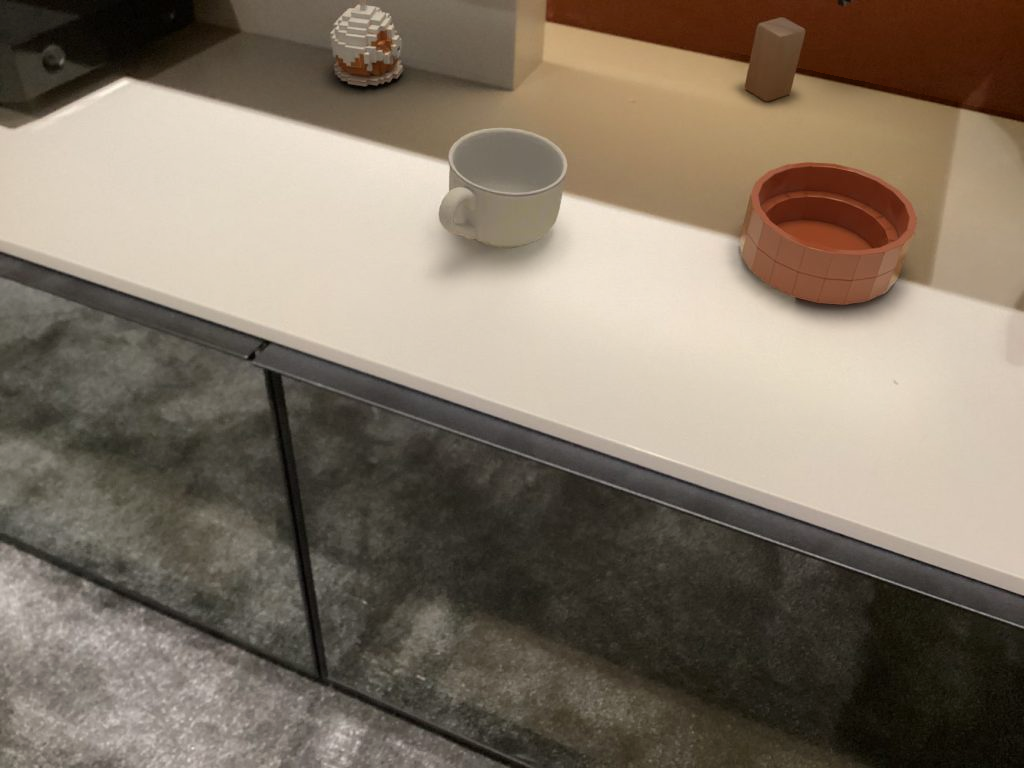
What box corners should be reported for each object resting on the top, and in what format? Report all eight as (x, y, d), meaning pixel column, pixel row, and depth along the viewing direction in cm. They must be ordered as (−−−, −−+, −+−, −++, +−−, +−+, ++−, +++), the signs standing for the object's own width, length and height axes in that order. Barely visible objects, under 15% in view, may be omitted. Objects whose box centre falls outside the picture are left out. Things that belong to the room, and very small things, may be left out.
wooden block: (768, 80, 115) (782, 15, 109) (791, 95, 113) (807, 28, 107) (742, 88, 113) (756, 22, 108) (765, 103, 111) (780, 36, 105)
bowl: (904, 237, 93) (924, 183, 89) (885, 326, 83) (907, 271, 79) (756, 201, 97) (769, 149, 92) (722, 284, 87) (735, 229, 83)
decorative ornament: (389, 94, 110) (380, -40, 100) (325, 85, 112) (310, -48, 101) (410, 64, 116) (404, -66, 105) (349, 55, 117) (336, -74, 107)
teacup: (513, 185, 98) (515, 114, 92) (585, 236, 92) (592, 162, 86) (400, 235, 91) (394, 161, 85) (470, 292, 85) (469, 217, 80)
